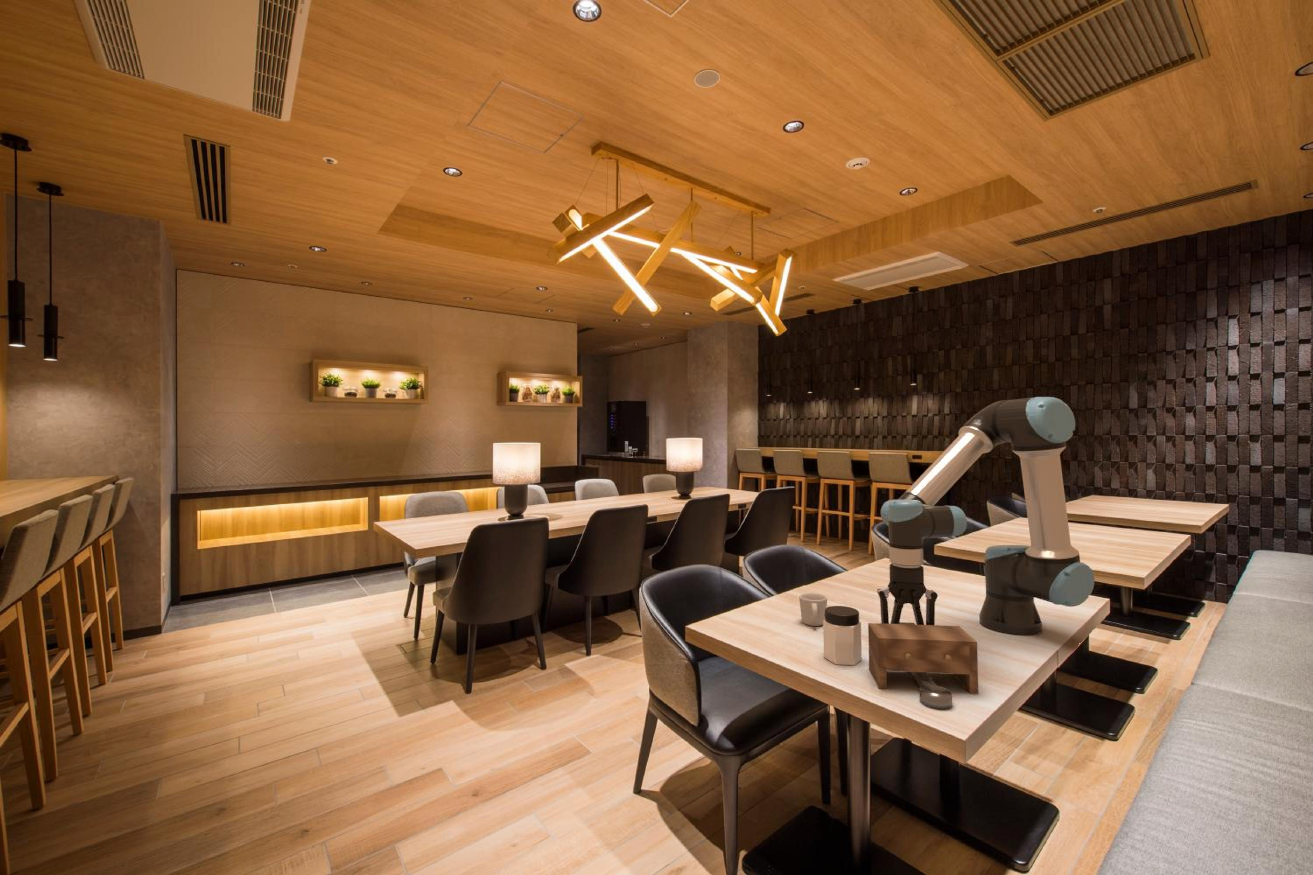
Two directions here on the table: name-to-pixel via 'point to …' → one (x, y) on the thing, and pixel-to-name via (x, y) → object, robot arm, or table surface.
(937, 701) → the disc
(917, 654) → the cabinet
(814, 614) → the cup
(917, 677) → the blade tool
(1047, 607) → the table surface
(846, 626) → the jar
